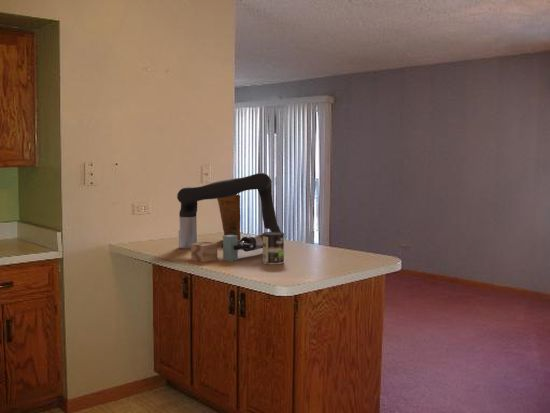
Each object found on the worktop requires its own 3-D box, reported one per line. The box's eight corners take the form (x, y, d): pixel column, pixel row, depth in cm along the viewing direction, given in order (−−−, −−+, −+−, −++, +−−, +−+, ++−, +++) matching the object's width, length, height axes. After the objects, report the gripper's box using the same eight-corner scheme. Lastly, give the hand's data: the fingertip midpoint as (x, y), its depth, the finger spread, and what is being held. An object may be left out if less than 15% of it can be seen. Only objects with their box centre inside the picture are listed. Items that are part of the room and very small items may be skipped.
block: (191, 259, 277) (190, 243, 276) (205, 257, 283) (205, 241, 283) (203, 262, 271) (203, 245, 270) (217, 259, 277) (217, 243, 277)
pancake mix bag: (236, 243, 328) (235, 194, 325) (216, 239, 342) (215, 193, 339) (245, 242, 332) (244, 194, 329) (225, 238, 346) (224, 192, 343)
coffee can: (288, 261, 271) (288, 232, 270) (276, 265, 263) (276, 235, 261) (270, 259, 277) (269, 231, 275) (258, 263, 268) (258, 233, 267)
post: (223, 260, 276) (222, 235, 275) (230, 258, 280) (230, 234, 279) (230, 261, 273) (230, 236, 272) (237, 259, 277) (237, 235, 275)
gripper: (241, 234, 291) (218, 238, 279) (261, 237, 282) (238, 240, 270) (241, 248, 292) (218, 253, 280) (261, 252, 282) (238, 256, 270)
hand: (228, 247), depth 275 cm, fingers open, 8 cm apart
